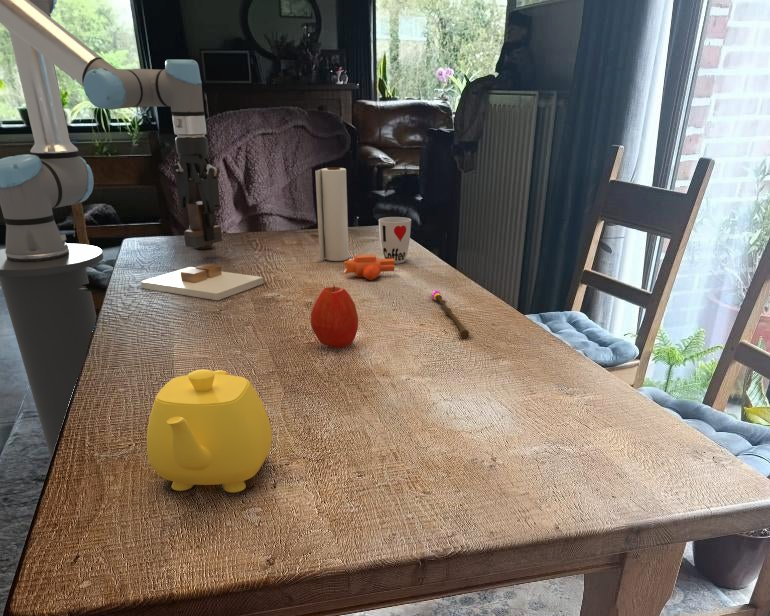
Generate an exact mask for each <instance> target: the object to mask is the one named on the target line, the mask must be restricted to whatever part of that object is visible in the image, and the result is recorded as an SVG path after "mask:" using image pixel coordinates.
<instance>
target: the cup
mask: <svg viewBox="0 0 770 616" xmlns="http://www.w3.org/2000/svg"><path fill="white" fill-rule="evenodd" d="M378 228H379V229H378V233H379V241H380V248H381V252H382V256H383V259H393V258H394V260H395V265H396V264H403V263H405V262H406V258H407V256H408V252H409V245H410V241H411V228H412V219H411V218H410V217H402V216H401V217H400V216H388V217H386V216H385V217H381V218H379V219H378Z"/></svg>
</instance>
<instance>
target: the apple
mask: <svg viewBox="0 0 770 616" xmlns="http://www.w3.org/2000/svg"><path fill="white" fill-rule="evenodd" d="M310 325H311V330H312V331H313V333H314V335H315V337H316V338H317V340H318V341H319V343H320V344H321V345H324V346H326V347H329V348H334V349H342V348H345V347H348V346H351V345H352V343H353V342H354V341H355V338H356V337H357V333H358V330H359V316H358V312H357V307H356V304H355V302H354V300H353V298H352V297H351V295H350V293H349V292H348V291H347V290H346V289H344V287H339V286H338V287H337V286H336V285H335V284H333V286H329V287H324V288H323V289H322V290H321V291H320V292H319V294H318V296H317V298H315V301H314V303H313V306H312V308H311V311H310Z"/></svg>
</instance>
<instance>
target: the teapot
mask: <svg viewBox="0 0 770 616" xmlns="http://www.w3.org/2000/svg"><path fill="white" fill-rule="evenodd" d="M272 442H273V432H272V427H271V422H270V419H269V416H268V413H267V410H266V408H265V405H264V403H263V402H262V400H261V398H260V396H259V394H258V393H257V391H256V389H255V387H254V386H253V384H252V383H251V382H250V380H248V379H247V377H246V378H245V377H243V376H239V375H233V374H230V373H229V372H227V371H225V370H222V369H221V370H219V369H218V370H214V371H213V370H210V369H197V370H192V371H191V372H189V373H188V374H185V375H180V376H175V377H173V378H172V379H170V380H169V381H168V382H167V383H166V384H165V385H164V386H163V387H161V389H160V390H159V391H158V393H157V394H156V395H155V398H154V402H153V405H152V407H151V412H150V415H149V419H148V425H147V432H146V453H147V460H148V463H149V465H150V467H151V468H152V469H153V470H154V471H155V472H156V474H158V475H159V476H160V477H161V478H163V479H165V480H167V481H171V482H172V485H171V489H172V490H174V491H179V492H180V491H182V492H183V491H187V490H189V489H191V488H193V487H194V486H195V485H197V486H212V485H213V486H214V485H222V486H223V490H224V491H225V492H227V493H239V492H241V491H244V490H245V489H246V487H247V485H246V482H245V481H247V480H249V479H252V478H253V477H255V475H256V474H257V473H258V472H259V471H260V469H261V468H262V465H263V464H264V462H265V461H266V459H267V457H268V455H269V452H270V450H271V447H272Z"/></svg>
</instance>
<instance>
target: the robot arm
mask: <svg viewBox="0 0 770 616" xmlns="http://www.w3.org/2000/svg"><path fill="white" fill-rule="evenodd" d="M57 3H58V0H0V24H1V25H2V26H3V27H4V28H5V29H6V30H7V31H8V33H9V38H10V43H11V46H12V50H13V54H14V59H15V64H16V67H17V68H16V69H17V72H18V76H19V81H20V84H21V85H20V86H21V89H22V93H23V99H24V102H25V106H26V107H25V108H26V111H27V115H28V119H29V123H30V128H31V132H32V136H33V140H34V144H33V145H32V147H31V149H30V154H18V155H14V156H13V155H12V156H6V157H2V158H0V208H1V212H2V216H3V220H4V224H5V248H4V249H5V253H6V256H7V259H8V260H10V261H14V262H40V261H48V260H54V259H59V258H62V257H65V256H67V255H69V254H70V252H69V248H68V245H67V242H66V241H67V236H66V233H63V234H62V233H61V231H60V229H59V227H58V225H57V224H56V221H55V217H54V212H53V210H54V209H58V208H61V207H66V206H75V205H78V204H80V203H83V202H85V201H87V200H88V198H89V197H90V195H91V194H92V193H93V189H94V185H95V183H94V182H95V181H94V174H93V172H92V171H93V170H92V168H91V166H90V164H87V161H86V160H85V159H84V158H83V157H81V156H80V152H79V148H78V147H77V146H75V144H73V143H72V141H71V138H70V133H69V128H68V124H67V119H66V115H65V109H64V104H63V99H62V94H61V89H60V86H59V80H58V77H57V72H56V67H57V68H58V69H59V70H61V71H62V72H64V74H66V75H67V76H68V77H70V78H72V80H74V82H76V83H78V84H79V86H81V87H83V90H84V93H85V96H86V97H87V99H88V101H89V102H90V103H91V105H93V106H94V107H96V108H98V109H101V110H111V111H113V110H118V109H126V108H127V109H131V108H147V107H148V108H149V107H152V108H153V107H155V108H158V107H159V108H161V107H163V108H164V107H167V108H170V112H171V115H172V116H171V118H172V124H173V132H174V135H177V136H176V137H175V139H174V141H175V148H176V153H177V154H178V156H179V159H178V162H177V163H175V164H171V166H170V168H171V170H172V173H173V175H174V180H175V187H176V191H177V197H178V203H179V207H180V208H181V209H185V211H186V212H187V220H188V224H189V225H190V222H189V214H188V206H187V204H189V203H194V202H197V186H198V191H199V194H200V199H201V200H200V201H202V204H203V208H204V211H203V213H202V217H203V225H204V233H205V241H211V240H215V237H214V229H213V226H215V225H216V223H215V212H217V211H220V209H221V207H220V206H221V205H220V191H219V174H220V168H219V167H218V166H215V167H214V166H213V165H211V163H210V160H209V158H208V154H209V153H210V149H209V148H210V147H209V141H208V140H209V139H208V138H207V136H205V135H207V134H208V132H207V123H206V122H207V121H206V115H205V108H204V99H203V98H204V97H203V85H202V84H203V81H202V79H201V78H202V77H201V72H200V66H199V64H198V62H197V61H196V60H194V59H166V60H165V62H164V65H165V67H164V69H153V68H152V69H151V68H117V67H114V66H113V65H112V64H110V63H109V62H108V61H107V60H105V59H104V58H103V57H101V56H100V54H98V53H97V52H95V51H94V50H93V49H92V48H90V47H89V46H87V44H85V43H84V42H83V41H81V39H79V38H78V37H76V36H75V35H74V34H73V33H71V32H70V31H69V30H67V29H66V28H65V27H64V26H62V25H61V24H60V23H58V21H56V20H55V19H54V18H52V15H51V14H53V12H54V11H55V9H56V5H57ZM55 66H56V67H55Z"/></svg>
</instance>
